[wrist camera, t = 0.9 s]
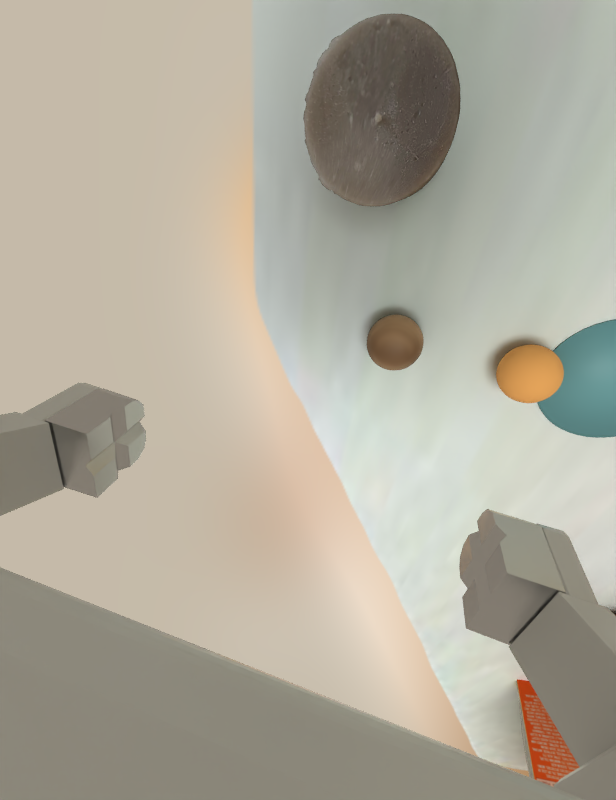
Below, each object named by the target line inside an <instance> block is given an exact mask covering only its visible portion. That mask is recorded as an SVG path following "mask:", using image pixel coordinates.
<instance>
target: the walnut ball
mask: <svg viewBox="0 0 616 800" xmlns="http://www.w3.org/2000/svg"><path fill="white" fill-rule="evenodd" d="M422 348H423V335H422V332H421V329H420V328H419V326H418V325H417V324H416V322H415V321H413V320H412V319H410V318H409V317H406V316H403V315H389V316H386V317H383V318H381V319H380V320H378V321H377V322H376V323H375V324H374V325H373V326H372V328H371V329H370V331H369V334H368V337H367V349H368V353H369V355H370V357H371V359H372V360H373V361H374V362H375V363H376V364H377V365H378V366H380V367H382V368H384V369H387V370H401V369H404V368H407V367H408V366H410V365H411V364H413V363H414V362H415V361H416V360H417V359H418V357H419V356H420V354H421V351H422Z"/></svg>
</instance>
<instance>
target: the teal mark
mask: <svg viewBox="0 0 616 800" xmlns="http://www.w3.org/2000/svg"><path fill="white" fill-rule="evenodd" d="M553 352H554V353H555V354H556V355H557V356H558V357H559V359H560V360H561V362H562V365H563V369H564V377H563V381H562V384H561V386H560V387H559V389H558V390H557V391H556V392H555V393H554V394H553V395H552V396H550V397H549V398H547V399H545V400H543V401H539V402H538V405H539V407H540V409H541V411H542V412H543V414H544V415H545V416H546V417H547V419H548V420H549V421H551V422H552V423H553V424H554V425H556V426H557V427H559V428H561V429H563V430H565V431H567V432H570V433H573V434H576V435H581V436H586V437H615V436H616V320H611V321H606V322H602V323H599V324H596V325H593V326H591V327H588V328H586V329H584V330H582V331H580V332H578V333H576V334H574V335H572V336H571V337H569V338H568V339H566V340H565V341H564V342H563V343H561V344H560V345H559V346H558V347H557V348H556V349H555V350H554V351H553Z"/></svg>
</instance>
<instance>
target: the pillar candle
mask: <svg viewBox="0 0 616 800" xmlns="http://www.w3.org/2000/svg"><path fill="white" fill-rule="evenodd" d="M313 73H314V76H313V79H312V81H311V85H310V88H309V91H308V93H307V95H306V98H305V101H306V109H305V111H304V118H303V119H304V125H305V136H306V139H305V143H306V145H307V148H308V152H309V155H310V158H311V162H312V164H313V166H314V168H315V170H316V172H317V173H318V174H319V180H320V181H321V183H322V185H323V186H325V187H326V188H327V189H328V190H333V192H334V193H335V194H338V195H339V196H340V197H342V198H343V199H345V200H348V201H350V202H353V203H356V204H358V205H362V206H382V205H388V204H391V203H394V202H397V201H400V200H402V199H405V198H407V197H409V196H411V195H413V194H414V193H416V192H417V191H419V190H420V189H422V188H423V187H424V186H425V185H426V184H427V183H428V182H429V181H430V180H431V179H432V178H433V176H434V175H435V174H436V172H437V171H438V169H439V168H440V166H441V165H442V163H443V161H444V159H445V157H446V155H447V153H448V151H449V149H450V146H451V144H452V141H453V138H454V135H455V132H456V128H457V123H458V119H459V114H460V84H459V78H458V73H457V69H456V65H455V62H454V59H453V56H452V54H451V52H450V50H449V48H448V47H447V45H446V44H445V42H444V40H443V39H442V38H441V37H440V36H439V35H438V33H437V32H436V31H435V30H434V29H433V28H432V27H430V26H429V25H428V24H426V23H425V22H423V21H421V20H419V19H416V18H414V17H411V16H409V15H405V14H381V15H378V16H374V17H371V18H367V19H365V20H363V21H361V22H359V23H357V24H355V25H354V26H353V27H351V28H349V29H348V30H347V31H346V32H344V33H343V34H342V35H340V36H337V37H335V38H334V39H333V40H332V41H331V43H330V45H329V48H328V49H327V50H326V51H325V52H324V53H322V56H321V57H320V59H319V60H318V63H317V69H316V70H315V71H314V72H313Z"/></svg>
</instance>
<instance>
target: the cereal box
mask: <svg viewBox="0 0 616 800" xmlns="http://www.w3.org/2000/svg"><path fill="white" fill-rule="evenodd" d="M517 686H518V695H519V705H520V715H521V725H522V735H523V742H524V748H525V754H526V759H527V765H528V771H529V777H530V778H532V779H535V780H537V781H540V782H542V783H545V784H547V785H550V786H552V787H554V785H555V784H556V783H557V782H558V781H559V780H560V779H561V778H563V777H564V776H566V775H567V774H569V773H571V772H572V771H574V770H576V769H577V768H579V765H578V763H577V762H576V760H575V758H574V756H573V755H572V753H571V751H570V750H569V748H568V746H567V745H566V743H565V741H564V740H563V738H562V736H561V734H560V733H559V731H558V729H557V728H556V726H555V724H554V723H553V721H552V719H551V717H550V716H549V714H548V712H547V711H546V709H545V707H544V706H543V704H542V702H541V701H540V699H539V697H538V695H537V694H536V692H535V690H534V689H533V687H532V685H531V684H530V682H529V681H524V680H517Z"/></svg>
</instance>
